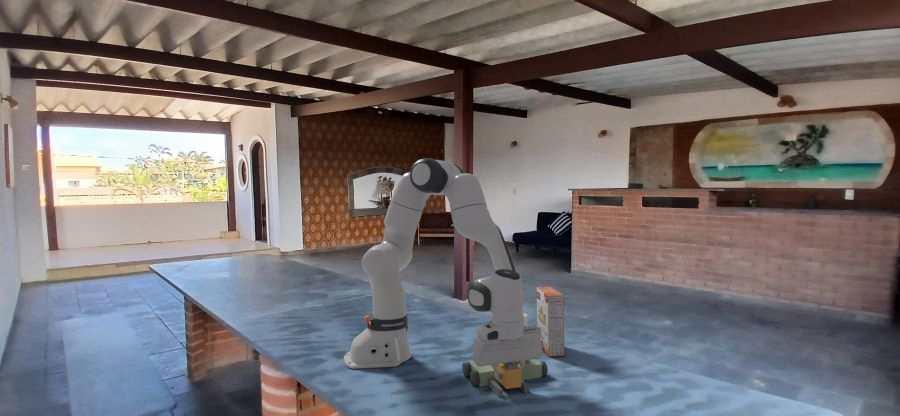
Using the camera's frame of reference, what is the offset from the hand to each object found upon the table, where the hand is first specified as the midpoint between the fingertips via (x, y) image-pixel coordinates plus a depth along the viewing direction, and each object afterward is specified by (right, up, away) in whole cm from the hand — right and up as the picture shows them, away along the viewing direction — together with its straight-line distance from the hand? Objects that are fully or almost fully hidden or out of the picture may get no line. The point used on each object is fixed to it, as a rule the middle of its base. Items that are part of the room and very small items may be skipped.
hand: (508, 377), depth 130 cm
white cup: (+8, -2, +41) cm, 42 cm away
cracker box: (+19, -2, +31) cm, 37 cm away
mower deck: (+1, -3, +6) cm, 7 cm away
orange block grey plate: (0, -2, 0) cm, 2 cm away
